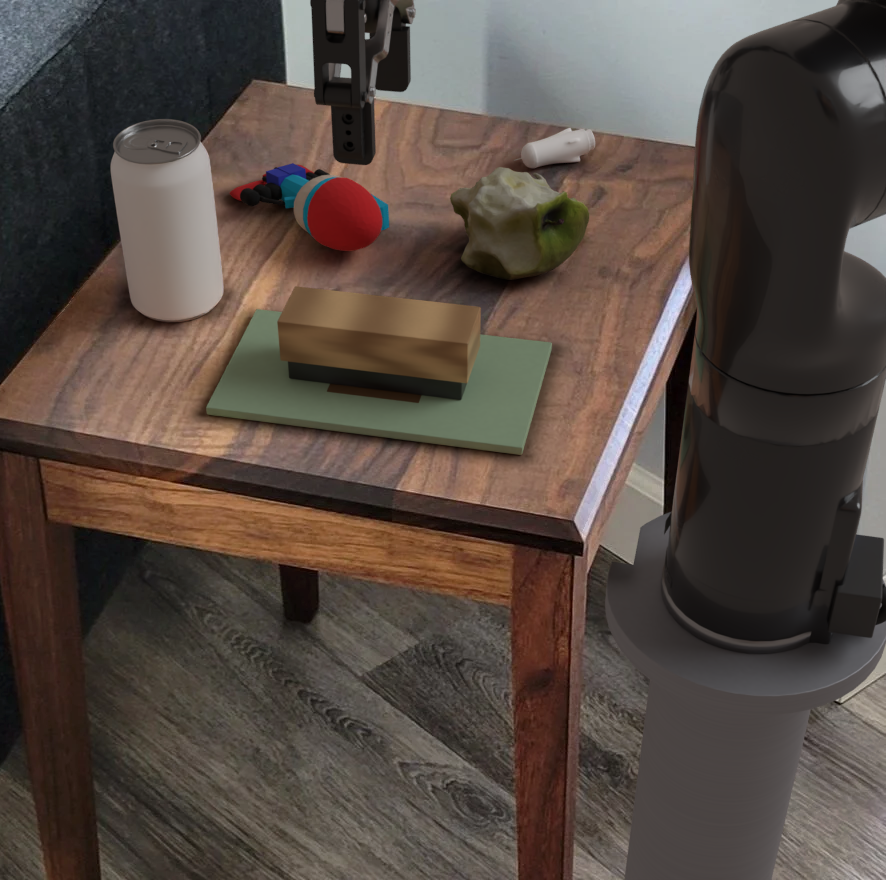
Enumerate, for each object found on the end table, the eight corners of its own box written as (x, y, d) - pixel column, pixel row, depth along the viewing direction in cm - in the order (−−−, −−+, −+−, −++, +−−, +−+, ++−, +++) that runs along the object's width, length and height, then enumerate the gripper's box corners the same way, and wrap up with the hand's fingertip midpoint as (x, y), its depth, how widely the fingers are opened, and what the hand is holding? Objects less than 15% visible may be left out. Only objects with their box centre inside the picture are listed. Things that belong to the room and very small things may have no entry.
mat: (551, 349, 106) (552, 341, 105) (522, 455, 98) (522, 447, 98) (256, 316, 110) (256, 308, 110) (206, 414, 103) (205, 406, 102)
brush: (479, 365, 104) (481, 306, 101) (467, 403, 101) (468, 343, 98) (298, 343, 107) (294, 285, 104) (281, 380, 104) (276, 321, 101)
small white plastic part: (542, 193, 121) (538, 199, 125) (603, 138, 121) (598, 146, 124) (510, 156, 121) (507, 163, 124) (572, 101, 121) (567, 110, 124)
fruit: (594, 303, 112) (593, 215, 105) (458, 315, 113) (448, 229, 106) (584, 210, 117) (582, 121, 111) (454, 223, 118) (444, 135, 112)
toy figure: (223, 219, 122) (330, 276, 111) (215, 154, 120) (325, 207, 109) (308, 194, 126) (421, 248, 115) (303, 131, 123) (418, 180, 112)
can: (154, 266, 115) (131, 110, 107) (238, 279, 114) (222, 122, 105) (115, 317, 111) (89, 158, 103) (203, 331, 109) (183, 171, 101)
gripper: (405, -118, 75) (410, 194, 86) (467, -221, 85) (464, 70, 96) (249, -125, 77) (274, 181, 88) (327, -226, 87) (341, 61, 98)
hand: (373, 123), depth 92 cm, fingers open, 8 cm apart
